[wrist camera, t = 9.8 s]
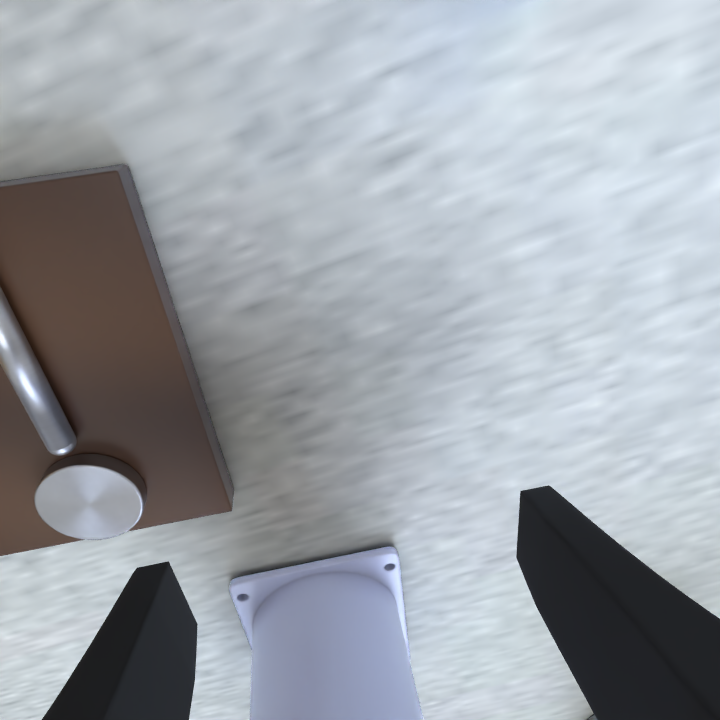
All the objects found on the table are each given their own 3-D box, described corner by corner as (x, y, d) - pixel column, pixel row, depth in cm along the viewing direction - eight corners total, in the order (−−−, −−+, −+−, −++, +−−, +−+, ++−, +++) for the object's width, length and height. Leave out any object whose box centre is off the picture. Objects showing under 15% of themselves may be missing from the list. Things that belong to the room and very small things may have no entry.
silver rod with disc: (159, 516, 20) (155, 534, 19) (65, 534, 20) (56, 553, 19) (23, 205, 14) (8, 213, 13) (-117, 226, 14) (-141, 235, 13)
